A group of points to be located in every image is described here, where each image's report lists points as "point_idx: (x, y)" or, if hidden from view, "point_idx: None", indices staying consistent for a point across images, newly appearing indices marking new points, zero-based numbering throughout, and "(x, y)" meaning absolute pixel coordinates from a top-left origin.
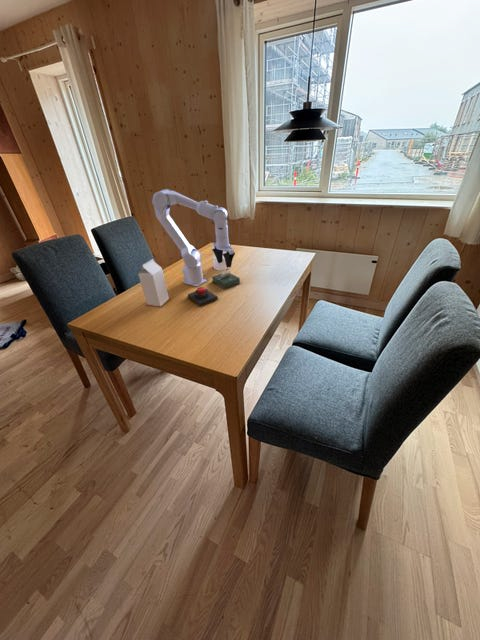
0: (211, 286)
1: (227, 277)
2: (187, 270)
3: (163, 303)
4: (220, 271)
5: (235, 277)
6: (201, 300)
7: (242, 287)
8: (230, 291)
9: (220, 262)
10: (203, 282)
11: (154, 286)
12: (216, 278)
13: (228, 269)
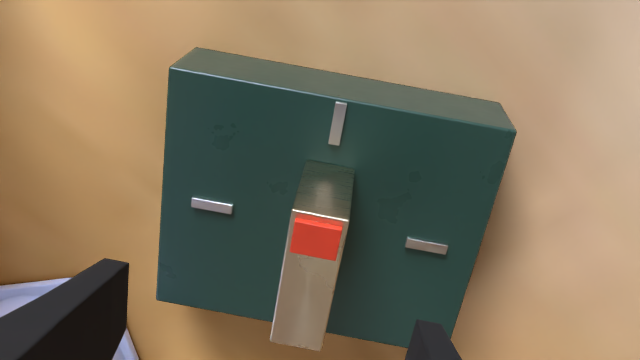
0: (262, 335)
1: None
2: None
3: None
4: (273, 339)
5: (448, 154)
6: None
7: (601, 165)
8: (530, 311)
9: (123, 300)
10: (127, 334)
11: None
12: (250, 313)
13: (339, 247)
